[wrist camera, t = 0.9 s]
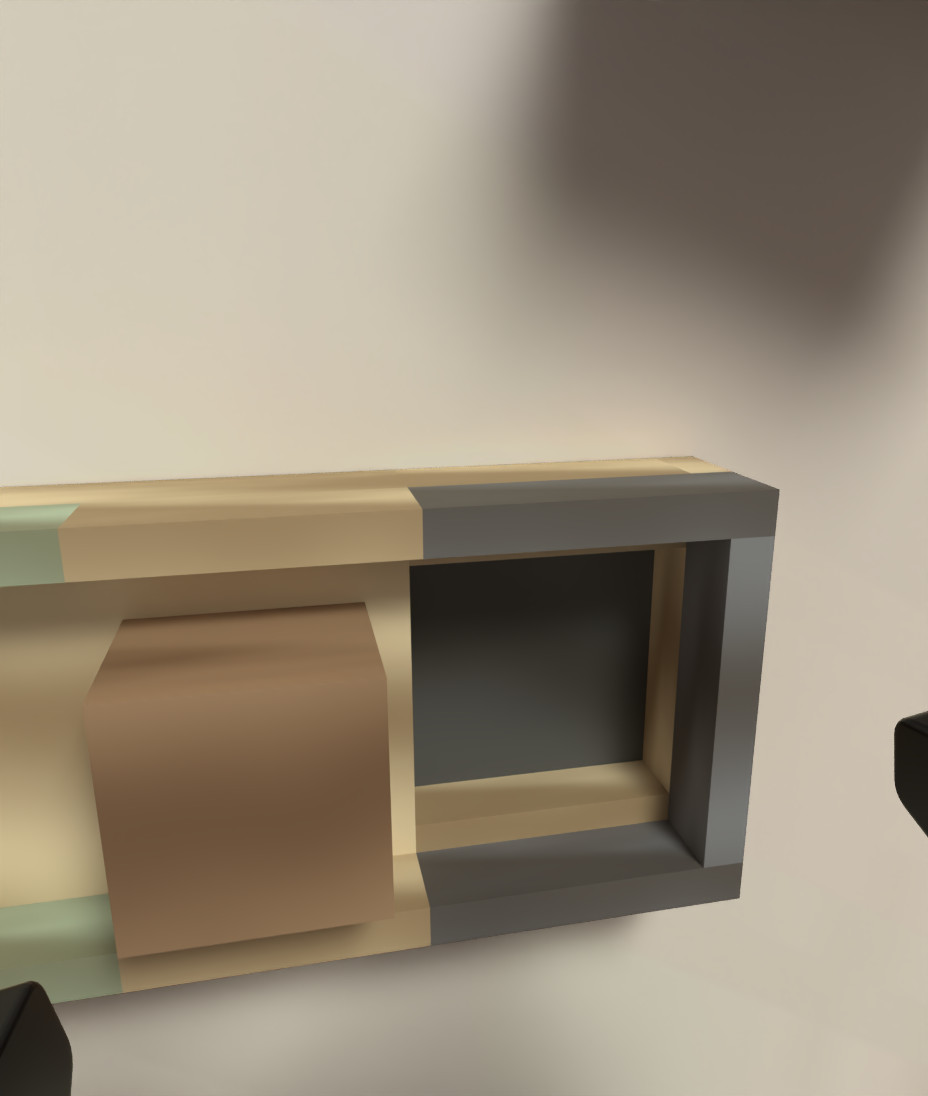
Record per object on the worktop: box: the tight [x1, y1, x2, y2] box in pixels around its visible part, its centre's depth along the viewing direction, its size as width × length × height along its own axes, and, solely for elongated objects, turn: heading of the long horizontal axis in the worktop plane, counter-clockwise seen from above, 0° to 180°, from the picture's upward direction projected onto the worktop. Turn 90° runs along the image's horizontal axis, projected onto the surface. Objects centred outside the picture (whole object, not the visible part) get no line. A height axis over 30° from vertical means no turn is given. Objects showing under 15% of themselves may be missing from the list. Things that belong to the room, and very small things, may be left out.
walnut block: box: [82, 602, 395, 959], centre depth 17 cm, size 5×5×4 cm
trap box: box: [0, 456, 779, 1004], centre depth 18 cm, size 10×30×4 cm, turn 90°
